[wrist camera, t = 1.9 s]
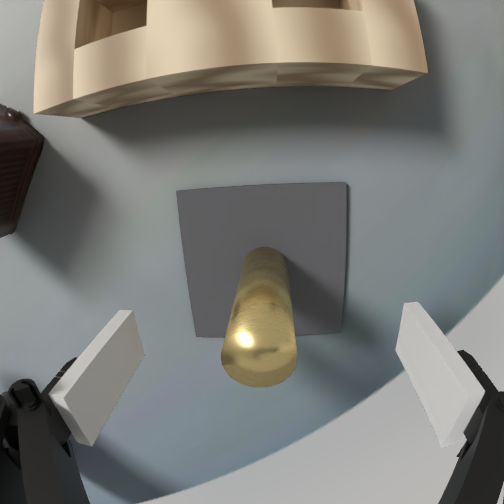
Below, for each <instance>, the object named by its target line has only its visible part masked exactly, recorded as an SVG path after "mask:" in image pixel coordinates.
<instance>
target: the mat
mask: <svg viewBox="0 0 504 504" xmlns="http://www.w3.org/2000/svg"><path fill="white" fill-rule="evenodd" d="M176 193H177V203H178V212H179V221H180V230H181V238H182V246H183V253H184V261H185V268H186V275H187V282H188V289H189V295H190V302H191V308H192V314H193V320H194V326H195V332H196V337H225V336H226V332H227V328H228V324H229V320H230V316H231V312H232V308H233V304H234V300H235V296H236V292H237V288H238V284H239V280H240V276H241V272H242V268H243V264H244V260H245V258H246V256H247V255H248V254H249V253H250V252H251V251H252V250H254V249H256V248H259V247H271V248H274V249H276V250H278V251H279V252H280V253H281V254H282V255H283V256H284V258H285V260H286V264H287V271H288V279H289V287H290V295H291V304H292V312H293V321H294V329H295V335H311V334H327V333H341V327H342V315H343V301H344V284H345V262H346V217H347V199H346V182H325V183H289V184H266V185H247V186H231V187H217V188H204V189H192V190H180V191H176Z"/></svg>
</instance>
